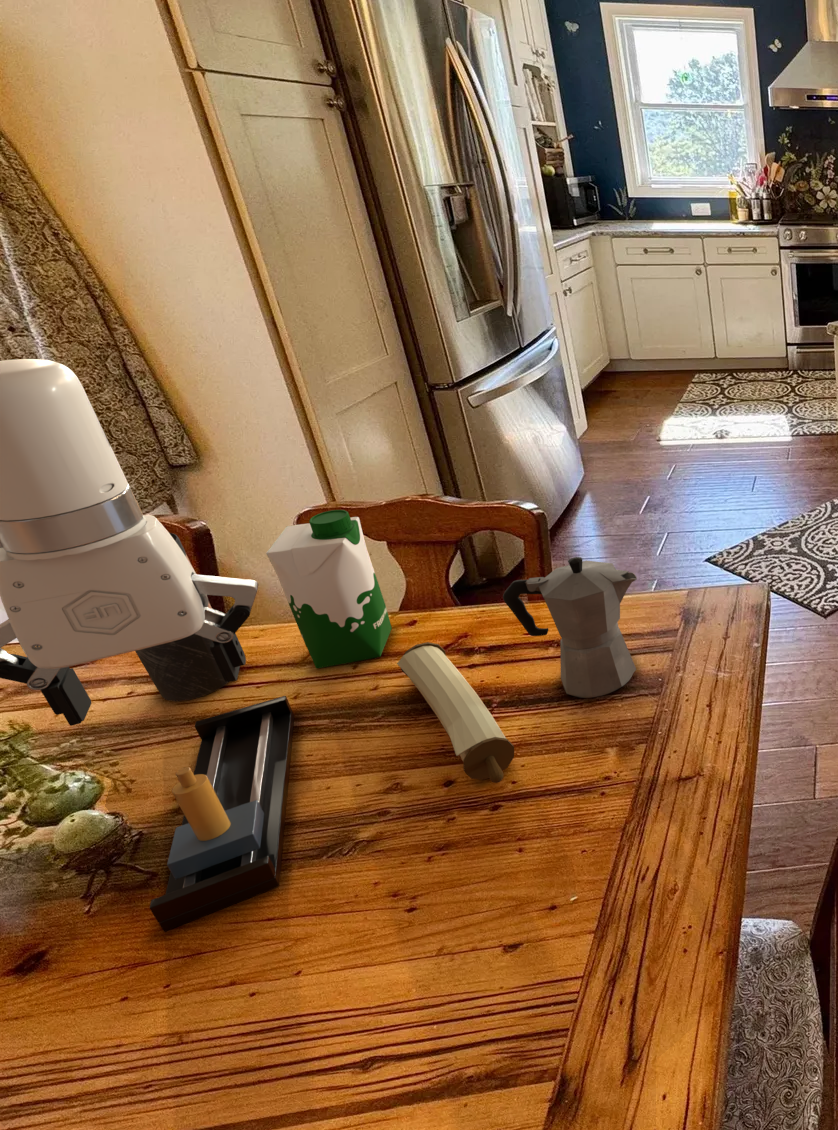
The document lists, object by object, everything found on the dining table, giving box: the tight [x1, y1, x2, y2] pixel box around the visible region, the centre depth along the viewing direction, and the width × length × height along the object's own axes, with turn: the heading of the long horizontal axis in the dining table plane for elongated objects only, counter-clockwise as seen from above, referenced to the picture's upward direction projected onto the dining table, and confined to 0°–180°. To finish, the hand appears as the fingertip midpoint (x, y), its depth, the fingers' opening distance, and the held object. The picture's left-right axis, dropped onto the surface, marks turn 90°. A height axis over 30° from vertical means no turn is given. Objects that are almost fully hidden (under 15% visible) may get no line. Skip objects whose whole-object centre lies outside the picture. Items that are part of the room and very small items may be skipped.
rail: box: [149, 695, 295, 932], centre depth 80 cm, size 8×28×3 cm, turn 36°
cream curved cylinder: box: [396, 641, 515, 784], centre depth 92 cm, size 32×6×5 cm, turn 46°
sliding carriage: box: [166, 766, 264, 879], centre depth 72 cm, size 6×5×10 cm
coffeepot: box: [502, 556, 638, 699], centre depth 97 cm, size 15×9×18 cm, turn 104°
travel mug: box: [134, 532, 230, 702], centre depth 93 cm, size 8×8×20 cm
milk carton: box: [265, 509, 393, 670], centre depth 101 cm, size 9×9×20 cm
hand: (160, 693), depth 67 cm, fingers open, 9 cm apart
